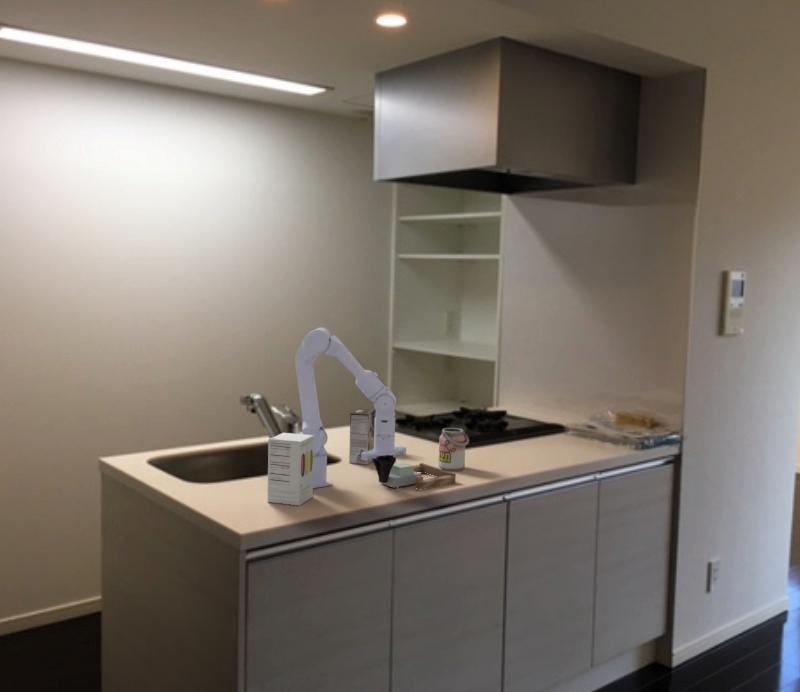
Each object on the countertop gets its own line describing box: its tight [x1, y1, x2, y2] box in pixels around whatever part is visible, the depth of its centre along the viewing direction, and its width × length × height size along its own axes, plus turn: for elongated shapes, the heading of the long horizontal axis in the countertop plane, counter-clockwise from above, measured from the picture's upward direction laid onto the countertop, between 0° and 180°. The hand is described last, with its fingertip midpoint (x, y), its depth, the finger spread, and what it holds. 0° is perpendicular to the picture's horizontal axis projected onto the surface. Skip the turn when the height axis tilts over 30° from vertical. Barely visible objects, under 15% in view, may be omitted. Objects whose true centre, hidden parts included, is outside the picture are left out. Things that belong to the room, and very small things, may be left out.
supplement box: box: [267, 432, 314, 507], centre depth 210 cm, size 10×9×17 cm
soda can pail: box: [438, 427, 470, 472], centre depth 248 cm, size 9×8×12 cm
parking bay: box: [414, 462, 457, 491], centre depth 233 cm, size 14×16×4 cm
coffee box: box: [348, 408, 376, 465], centre depth 254 cm, size 9×6×16 cm
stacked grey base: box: [379, 461, 422, 489], centre depth 228 cm, size 10×7×6 cm
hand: (383, 482), depth 225 cm, fingers closed
